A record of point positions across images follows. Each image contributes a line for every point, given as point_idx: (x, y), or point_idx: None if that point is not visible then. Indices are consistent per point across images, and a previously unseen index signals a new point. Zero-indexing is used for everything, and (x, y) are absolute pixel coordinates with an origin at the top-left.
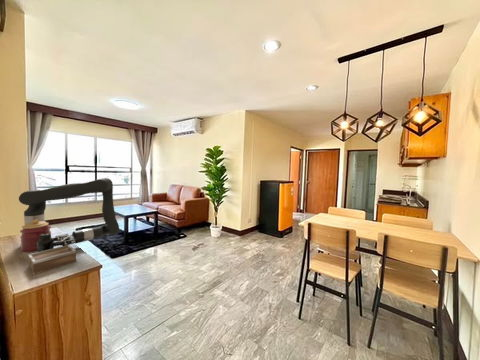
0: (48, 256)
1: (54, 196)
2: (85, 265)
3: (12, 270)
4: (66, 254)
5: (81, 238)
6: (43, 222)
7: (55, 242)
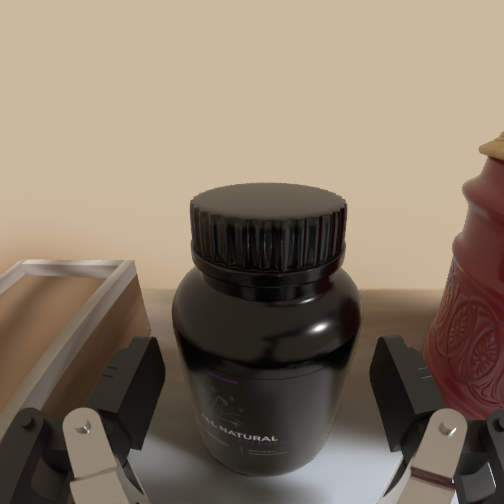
0: (14, 312)
1: None
2: None
3: (169, 294)
4: None
5: None
6: None
7: (117, 371)
